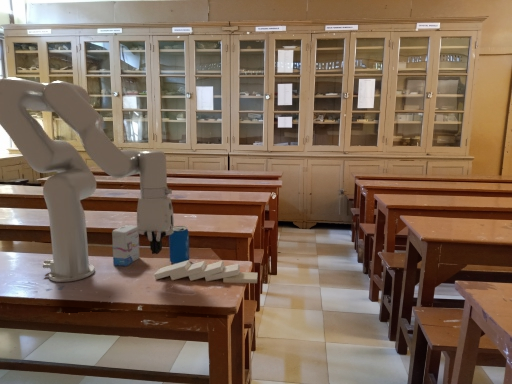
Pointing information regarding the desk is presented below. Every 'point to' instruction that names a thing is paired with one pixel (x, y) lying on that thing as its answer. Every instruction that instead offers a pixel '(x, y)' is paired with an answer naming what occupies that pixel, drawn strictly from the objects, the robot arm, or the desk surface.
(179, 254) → the beverage can
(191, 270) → the domino
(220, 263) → the domino
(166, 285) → the desk surface
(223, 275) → the domino
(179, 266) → the domino
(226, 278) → the domino
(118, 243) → the ink box
